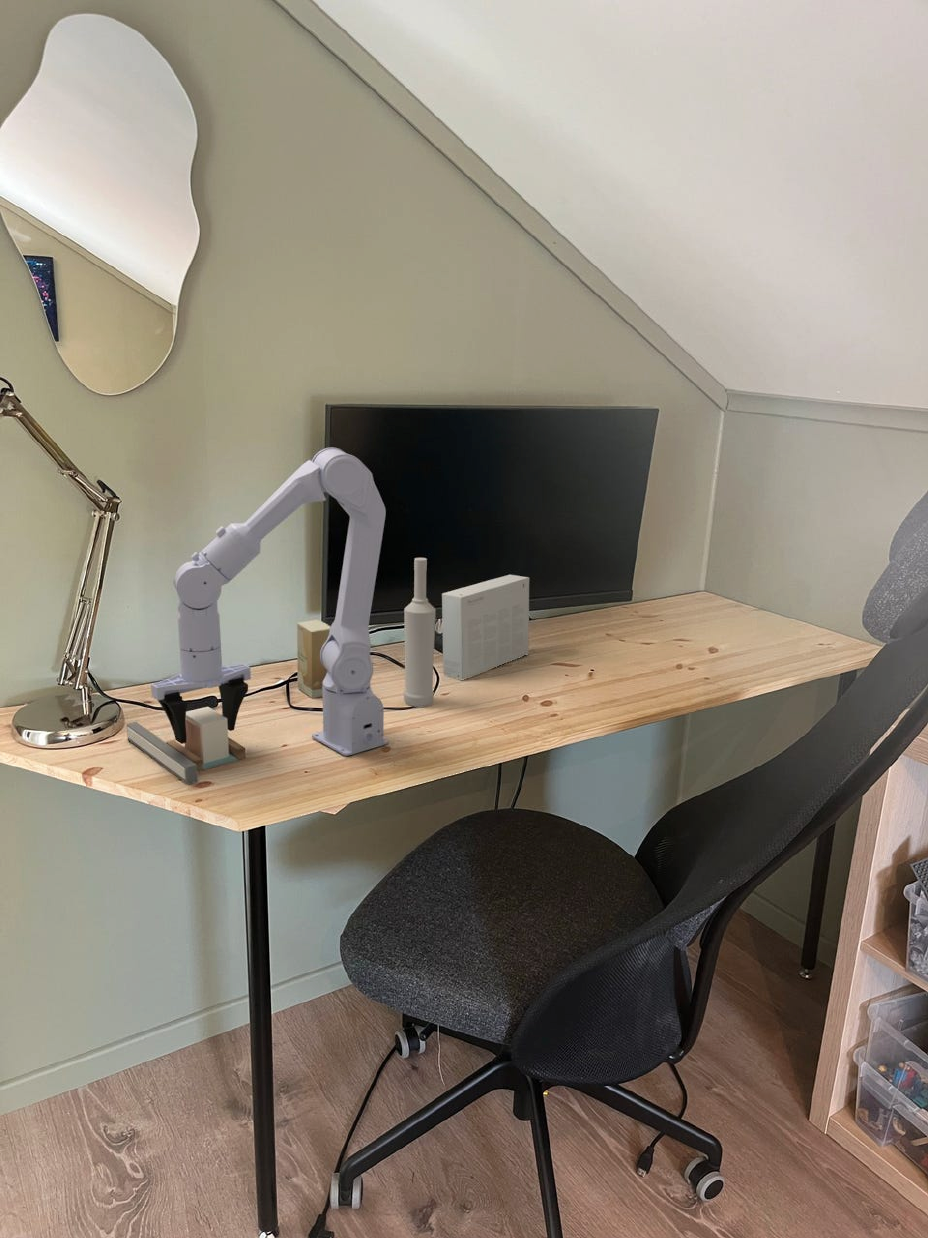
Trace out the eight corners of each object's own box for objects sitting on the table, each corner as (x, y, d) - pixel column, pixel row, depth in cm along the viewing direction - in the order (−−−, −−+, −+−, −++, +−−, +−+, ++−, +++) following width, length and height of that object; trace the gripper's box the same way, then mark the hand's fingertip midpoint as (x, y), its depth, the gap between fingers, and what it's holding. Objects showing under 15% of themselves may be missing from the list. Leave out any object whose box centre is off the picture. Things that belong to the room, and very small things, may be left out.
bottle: (426, 709, 162) (429, 563, 155) (398, 704, 164) (399, 560, 157) (438, 699, 167) (441, 557, 160) (410, 695, 169) (412, 554, 162)
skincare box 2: (507, 649, 196) (510, 573, 191) (529, 655, 192) (532, 577, 188) (439, 674, 180) (440, 591, 175) (462, 681, 176) (464, 597, 172)
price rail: (197, 781, 134) (196, 764, 133) (186, 784, 133) (185, 768, 132) (137, 737, 148) (136, 721, 147) (126, 739, 147) (125, 724, 146)
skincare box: (296, 688, 171) (295, 621, 167) (319, 684, 173) (318, 618, 170) (312, 699, 165) (311, 631, 162) (335, 695, 168) (334, 627, 164)
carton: (209, 744, 146) (208, 706, 144) (228, 756, 141) (227, 718, 140) (183, 750, 143) (181, 712, 141) (202, 764, 139) (200, 725, 137)
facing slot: (245, 757, 142) (245, 747, 141) (194, 772, 136) (194, 761, 136) (216, 739, 148) (215, 729, 148) (166, 752, 143) (166, 742, 142)
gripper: (164, 662, 130) (170, 756, 134) (259, 643, 139) (263, 731, 143) (142, 650, 135) (148, 740, 139) (235, 632, 144) (239, 717, 148)
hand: (205, 734), depth 141 cm, fingers open, 7 cm apart
